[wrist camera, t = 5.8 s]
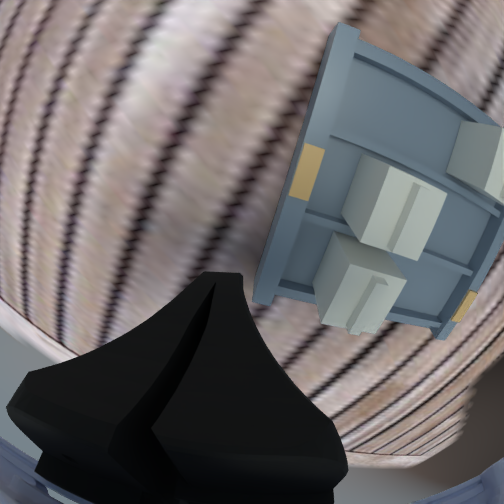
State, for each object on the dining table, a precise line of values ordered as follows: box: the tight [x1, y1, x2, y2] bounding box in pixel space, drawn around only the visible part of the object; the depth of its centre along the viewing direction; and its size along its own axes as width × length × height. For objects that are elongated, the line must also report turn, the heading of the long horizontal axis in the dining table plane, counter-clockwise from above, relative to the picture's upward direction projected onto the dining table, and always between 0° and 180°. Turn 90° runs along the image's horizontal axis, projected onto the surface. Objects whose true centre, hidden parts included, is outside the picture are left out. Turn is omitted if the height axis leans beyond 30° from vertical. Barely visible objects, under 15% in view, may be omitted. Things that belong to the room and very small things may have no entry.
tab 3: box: [446, 121, 504, 206], centre depth 10 cm, size 3×3×4 cm
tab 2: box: [312, 231, 407, 335], centre depth 13 cm, size 3×3×4 cm
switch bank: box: [252, 22, 504, 340], centre depth 13 cm, size 14×14×2 cm
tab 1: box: [341, 153, 447, 261], centre depth 11 cm, size 3×3×4 cm
